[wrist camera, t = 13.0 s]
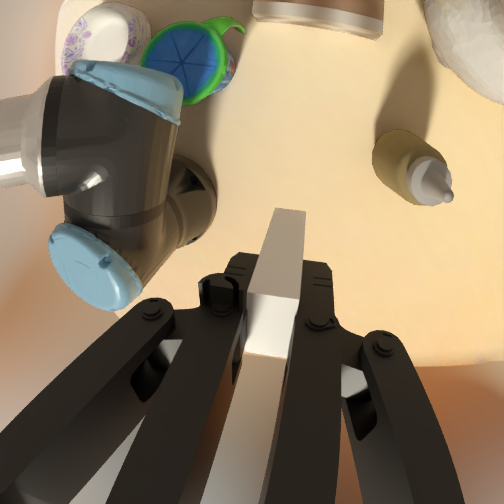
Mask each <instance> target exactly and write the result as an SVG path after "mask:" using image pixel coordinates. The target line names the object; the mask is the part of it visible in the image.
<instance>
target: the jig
mask: <svg viewBox="0 0 504 504" xmlns="http://www.w3.org/2000/svg"><path fill="white" fill-rule="evenodd" d="M252 14H253V16H254V17H255V18H256V20H257V21H258V22H271V23H284V24H294V25H302V26H310V27H316V28H323V29H328V30H334V31H339V32H343V33H348V34H352V35H357V36H361V37H364V38H368V39H372V40H375V41H376V40H377V39H378V38H379V37H380V36H381V35H382V34H383V16H384V0H254V1H253V7H252Z"/></svg>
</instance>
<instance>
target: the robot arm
mask: <svg viewBox="0 0 504 504" xmlns="http://www.w3.org/2000/svg"><path fill="white" fill-rule="evenodd" d="M68 73H70V75H62V76H51V77H50V78H49V79H48V80H47V81H46V82H45V83H44V84H43V85H42V86H41V87H40V88H39V89H38V90H37V91H36V92H34V93H33V94H30V95H23V96H17V97H12V98H6V99H1V100H0V189H2V188H7V187H13V186H18V185H24V184H29V185H31V186H32V187H34V188H35V189H36V190H37V191H38V192H39V193H40V194H41V195H42V196H43V197H53V196H60V195H63V198H64V199H63V200H64V213H65V220H64V223H60V224H58V225H57V226H56V227H55V230H54V231H53V232H52V234H51V235H50V237H49V241H48V247H49V253H50V257H51V260H52V262H53V264H54V267H55V268H56V270H57V272H58V274H59V275H60V277H61V278H62V279H63V281H64V282H65V283H66V284H67V285H68V286H69V288H70V289H72V291H73V292H74V293H75V294H77V295H78V296H79V297H80V298H81V299H83V300H84V301H86V302H87V303H89V304H91V305H92V306H95V307H97V308H99V309H102V310H106V311H117V310H121V309H124V308H125V307H127V306H128V305H129V304H130V303H131V302H132V301H133V300H134V299H135V298H136V297H137V296H139V295H140V294H141V293H142V291H143V288H144V287H145V286H146V284H147V283H148V282H149V281H150V280H151V278H152V277H153V276H154V275H155V273H156V272H157V271H158V270H159V269H160V267H161V266H162V265H163V264H164V263H165V261H166V260H167V259H168V258H169V257H170V255H171V254H172V253H173V252H174V251H175V249H178V248H180V247H183V246H185V245H188V244H191V243H193V242H195V241H196V240H198V239H199V238H200V237H201V236H202V235H203V234H204V233H205V232H206V231H207V229H208V228H209V227H210V225H211V224H212V222H213V220H214V217H215V213H216V204H217V203H216V195H215V191H214V187H213V185H212V183H211V181H210V179H209V177H208V176H207V174H206V173H205V172H204V171H203V170H202V169H201V168H200V167H199V166H198V165H197V164H196V163H194V162H193V161H191V160H189V159H187V158H185V157H182V156H178V155H173V153H174V147H175V142H176V137H177V132H178V127H179V126H180V125H181V120H180V113H181V106H182V100H183V94H184V90H183V86H182V84H181V82H180V81H179V80H178V79H177V78H176V77H174V76H173V75H170V74H167V73H164V72H161V71H157V70H154V69H149V68H145V67H141V66H136V65H130V64H125V63H118V62H111V61H98V60H87V59H79V60H75V61H74V62H73V63H72V65H71V67H70V68H69V69H68ZM305 217H306V211H298V210H290V209H282V208H275V210H274V213H273V216H272V219H271V222H270V225H269V228H268V231H267V234H266V237H265V240H264V243H263V246H262V249H261V252H260V255H257V254H250V253H242V252H239V253H237V254H236V255H234V256H233V257H232V258H231V259H230V261H229V263H228V265H227V267H226V269H225V271H224V273H215V274H210V275H208V276H206V277H204V278H202V279H201V280H200V281H199V282H198V287H199V297H200V306H199V307H197V308H193V309H179V310H174V309H173V307H172V305H171V303H170V302H168V301H167V300H166V299H162V298H149V299H145V300H143V301H141V302H139V303H138V304H136V305H135V306H134V307H133V308H132V309H131V310H130V311H128V312H127V313H126V314H125V315H124V316H123V317H122V318H120V319H119V320H118V321H117V322H116V323H115V324H114V325H113V326H111V327H110V328H109V329H108V330H107V331H106V332H105V333H104V334H103V335H102V336H100V337H99V338H98V339H97V340H96V341H95V342H94V343H92V344H91V345H90V346H89V347H88V348H87V349H86V350H85V351H84V352H83V353H82V354H80V355H79V357H77V358H76V359H75V360H74V361H73V362H72V363H71V364H70V365H69V366H68V367H66V369H64V370H63V371H62V372H61V373H60V374H59V375H58V376H57V377H56V378H55V379H54V380H53V381H52V382H51V383H50V384H49V385H48V386H46V387H45V388H44V389H43V390H42V391H41V392H40V393H39V394H38V395H37V396H36V397H35V398H34V399H33V400H32V401H31V402H30V403H29V404H28V405H27V406H26V407H25V408H24V409H23V410H22V411H21V412H20V413H19V414H18V415H17V416H16V417H15V418H14V419H13V420H12V421H11V422H10V423H9V424H8V425H7V426H6V428H5V429H4V430H3V431H2V432H1V433H0V504H69V503H70V501H71V500H72V499H73V498H74V497H75V496H76V495H77V494H78V493H79V491H80V490H81V489H82V488H83V487H84V486H85V485H86V484H87V482H88V481H89V480H90V479H91V478H92V477H93V476H94V475H95V473H96V472H97V471H98V470H99V469H100V468H101V466H102V465H103V464H104V463H105V462H106V461H107V460H108V458H109V457H110V456H111V455H112V454H113V453H114V451H115V450H116V449H117V448H118V447H119V445H121V443H122V442H123V441H124V440H125V439H126V438H127V436H128V435H129V434H130V433H131V432H132V430H133V429H134V428H135V427H136V426H137V424H138V423H139V422H140V421H141V420H142V419H143V417H144V416H145V415H146V416H145V418H144V420H143V422H142V424H141V426H140V428H139V430H138V433H137V435H136V437H135V439H134V441H133V443H132V445H131V448H130V450H129V452H128V454H127V456H126V459H125V461H124V463H123V465H122V468H121V470H120V472H119V474H118V476H117V478H116V481H115V483H114V486H113V487H112V490H111V492H110V494H109V497H108V499H107V501H106V504H200V502H201V499H202V496H203V492H204V489H205V486H206V483H207V480H208V477H209V474H210V470H211V467H212V464H213V461H214V457H215V454H216V451H217V448H218V444H219V441H220V438H221V434H222V431H223V427H224V424H225V421H226V418H227V414H228V411H229V408H230V404H231V401H232V397H233V394H234V390H235V387H236V383H237V380H238V376H239V373H240V369H241V366H242V354H243V351H244V347H245V352H251V353H256V354H263V355H269V356H275V357H282V358H287V362H286V367H285V371H284V375H283V380H282V390H281V395H280V401H279V407H278V412H277V418H276V424H275V429H274V434H273V439H272V444H271V449H270V454H269V459H268V464H267V469H266V473H265V477H264V482H263V486H262V491H261V495H260V499H259V504H335V496H336V487H337V476H338V465H339V451H340V432H341V408H342V412H343V415H344V419H345V423H346V428H347V432H348V436H349V440H350V444H351V448H352V453H353V457H354V462H355V466H356V470H357V475H358V480H359V485H360V490H361V494H362V500H363V504H465V502H464V498H463V494H462V491H461V487H460V483H459V480H458V477H457V473H456V470H455V467H454V464H453V461H452V458H451V455H450V452H449V450H448V446H447V444H446V441H445V438H444V435H443V433H442V430H441V428H440V425H439V423H438V420H437V418H436V415H435V413H434V410H433V408H432V405H431V403H430V401H429V399H428V396H427V394H426V392H425V389H424V387H423V385H422V383H421V381H420V378H419V376H418V374H417V372H416V370H415V368H414V366H413V364H412V361H411V359H410V357H409V355H408V353H407V351H406V349H405V347H404V345H403V343H402V342H401V341H400V340H399V338H398V337H396V336H395V335H394V334H392V333H390V332H387V331H384V330H375V331H372V332H369V333H368V334H367V335H366V336H365V337H362V336H359V335H356V334H354V333H351V332H349V331H347V330H346V329H344V328H343V327H342V326H341V325H340V324H339V321H338V319H337V318H336V317H335V313H334V295H333V281H332V270H331V269H330V268H329V266H328V265H327V263H323V262H316V261H308V260H303V250H304V235H305Z"/></svg>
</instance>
